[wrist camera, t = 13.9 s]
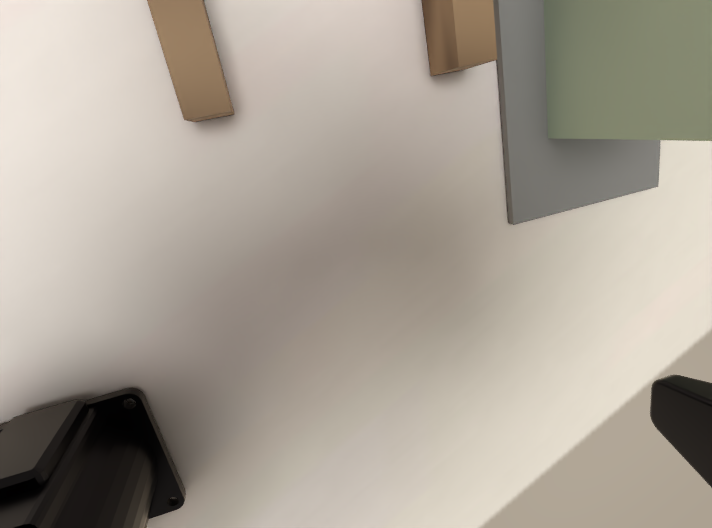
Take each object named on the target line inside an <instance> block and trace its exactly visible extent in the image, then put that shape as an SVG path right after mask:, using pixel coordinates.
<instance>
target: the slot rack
mask: <svg viewBox="0 0 712 528" xmlns="http://www.w3.org/2000/svg"><path fill="white" fill-rule="evenodd" d="M147 1H148V5H149V8H150V11H151V14H152V18H153V21H154V24H155V27H156V30H157V34H158V37H159V40H160V43H161V47H162V50H163V53H164V56H165V59H166V63H167V66H168V69H169V72H170V76H171V79H172V82H173V85H174V88H175V92H176V95H177V98H178V101H179V105H180V108H181V111H182V114H183V118H184V120H187V121H192V122H197V121H202V120H207V119H212V118H217V117H222V116H227V115H233V114H234V111H233V107H232V103H231V100H230V96H229V92H228V89H227V85H226V81H225V78H224V74H223V70H222V66H221V63H220V59H219V55H218V52H217V48H216V44H215V41H214V37H213V33H212V30H211V26H210V22H209V19H208V15H207V11H206V7H205V4H204V0H147ZM422 6H423V15H424V23H425V31H426V39H427V48H428V56H429V64H430V73H431V76H433V75H439V74H444V73H449V72H454V71H459V70H464V69H468V68H471V67H474V66H478V65H481V64H484V63H488V62H491V61H494V60H497V48H496V34H495V20H494V6H493V0H422Z"/></svg>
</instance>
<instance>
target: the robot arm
mask: <svg viewBox="0 0 712 528" xmlns="http://www.w3.org/2000/svg"><path fill="white" fill-rule="evenodd" d="M126 399H133V400H134V401H135V403H132V404H130V403H127V401H126ZM650 416H651V420H652V422H653V424H654V425H655V427H656V428H657V429H658V430H659V431H660V433H661V434H662V435H663V436H664V437H665V438H666V439H667V440H668V441H669V442H670V443H671V444H672V445H673V446H674V447H675V449H676V450H677V451H678V452H679V453H680V454H681V455H682V456H683V457H684V458H685V459H686V460H687V462H689V464H690V465H691V466H692V467H693V468H694V469H695V470H696V471H697V472H698V473H699V474H700V475H701V476H702V477H703V478H704V480H705V481H706V482H707V483H708V484H709V485H710V486H711V487H712V383H709V382H705V381H701V380H697V379H692V378H688V377H684V376H680V375H670V376H667V377H664V378H661V379H658V380H656V381H654V383H653V384H652V388H651V407H650ZM185 496H186V493H185V489H184V487H183V485H182V482H181V480H180V478H179V475H178V473H177V471H176V468H175V466H174V464H173V461H172V459H171V457H170V454H169V452H168V450H167V447H166V445H165V443H164V440H163V438H162V436H161V433H160V431H159V429H158V426H157V424H156V422H155V419H154V417H153V415H152V412H151V410H150V408H149V406H148V403H147V401H146V399H145V396H144V394H143V393H142V392H141V391H140V390H138V389H135V388H128V389H124V390H121V391H117V392H114V393H110V394H107V395H103V396H100V397H96V398H93V399H89V400H86V401H84V400H78V399H76V400H73V401H69V402H66V403H62V404H59V405H55V406H52V407H48V408H45V409H41V410H38V411H34V412H31V413H27V414H24V415H20V416H17V417H14V418H12V419H11V421H10V422H9V423H6V424H2V425H0V528H146V527H147V523H148V519H150V518H153V517H156V516H159V515H162V514H165V513H168V512H171V511H174V510H177V509H179V508H181V506H182V505H183V504H184V501H185ZM171 497H176V498H177V499H171Z"/></svg>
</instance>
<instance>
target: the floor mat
mask: <svg viewBox="0 0 712 528" xmlns="http://www.w3.org/2000/svg"><path fill="white" fill-rule="evenodd" d="M493 6H494V20H495V34H496V48H497V67H498V81H499V95H500V108H501V122H502V136H503V150H504V164H505V178H506V192H507V206H508V220H509V223H510V224H513V225H514V224H518V223H522V222H526V221H530V220H533V219H537V218H541V217H545V216H549V215H552V214H556V213H560V212H564V211H567V210H571V209H575V208H579V207H583V206H586V205H590V204H594V203H598V202H602V201H605V200H609V199H613V198H617V197H620V196H624V195H628V194H632V193H636V192H639V191H643V190H647V189H651V188H655V187H658V180H659V160H660V140H623V139H554V138H548V122H547V91H546V60H545V29H544V0H493Z"/></svg>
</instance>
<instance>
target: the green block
mask: <svg viewBox="0 0 712 528" xmlns="http://www.w3.org/2000/svg"><path fill="white" fill-rule="evenodd" d="M544 29H545V60H546V91H547V122H548V138H554V139H623V140H692V141H712V0H544Z"/></svg>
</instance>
